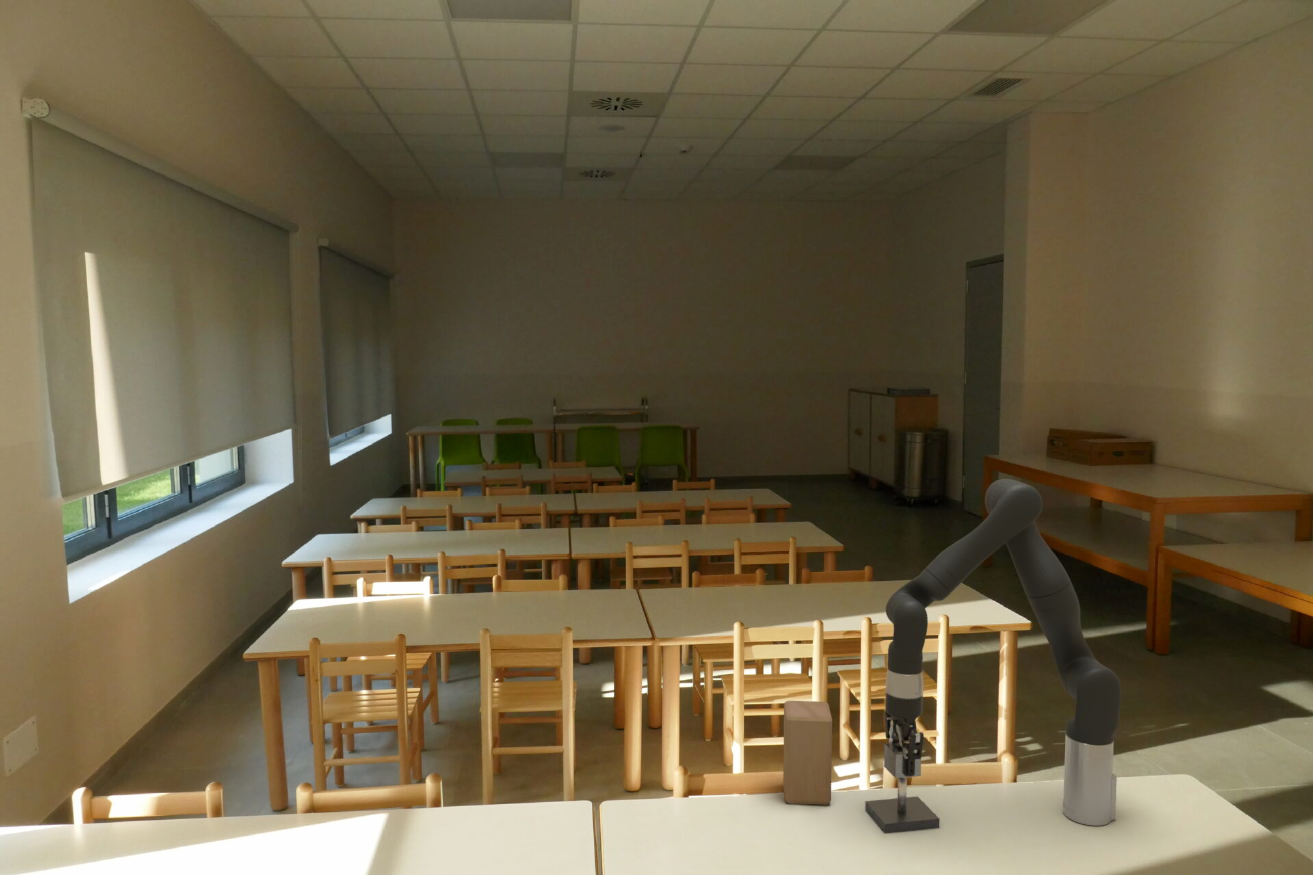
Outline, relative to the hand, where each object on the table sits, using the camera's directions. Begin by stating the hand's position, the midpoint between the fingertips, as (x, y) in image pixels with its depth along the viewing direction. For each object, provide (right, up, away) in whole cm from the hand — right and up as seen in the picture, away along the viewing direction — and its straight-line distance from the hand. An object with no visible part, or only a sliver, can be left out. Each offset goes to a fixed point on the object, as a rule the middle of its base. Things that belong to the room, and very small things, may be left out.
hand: (902, 768), depth 196 cm
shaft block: (0, -11, +1) cm, 11 cm away
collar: (0, -1, 0) cm, 1 cm away
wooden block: (-18, -10, +12) cm, 24 cm away
